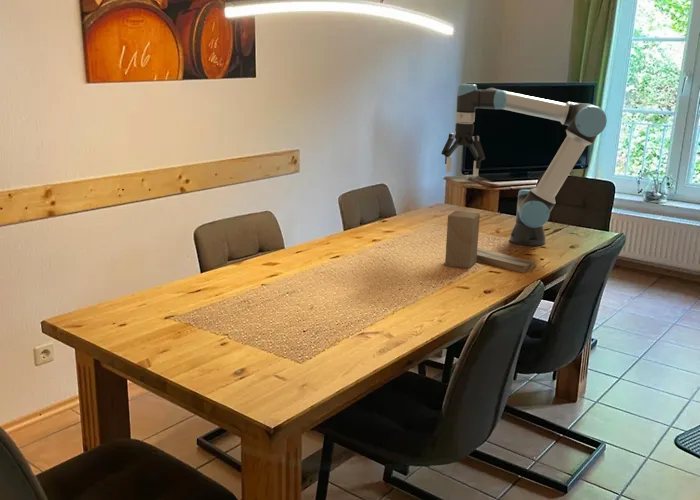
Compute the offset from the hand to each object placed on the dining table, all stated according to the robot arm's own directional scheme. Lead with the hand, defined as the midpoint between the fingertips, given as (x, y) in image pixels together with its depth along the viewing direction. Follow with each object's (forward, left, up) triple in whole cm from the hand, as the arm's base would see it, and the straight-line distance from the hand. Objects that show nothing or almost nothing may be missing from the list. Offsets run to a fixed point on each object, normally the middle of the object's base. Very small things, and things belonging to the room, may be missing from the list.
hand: (461, 174), depth 288 cm
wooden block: (+22, +17, -31) cm, 42 cm away
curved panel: (+10, +26, -31) cm, 41 cm away
